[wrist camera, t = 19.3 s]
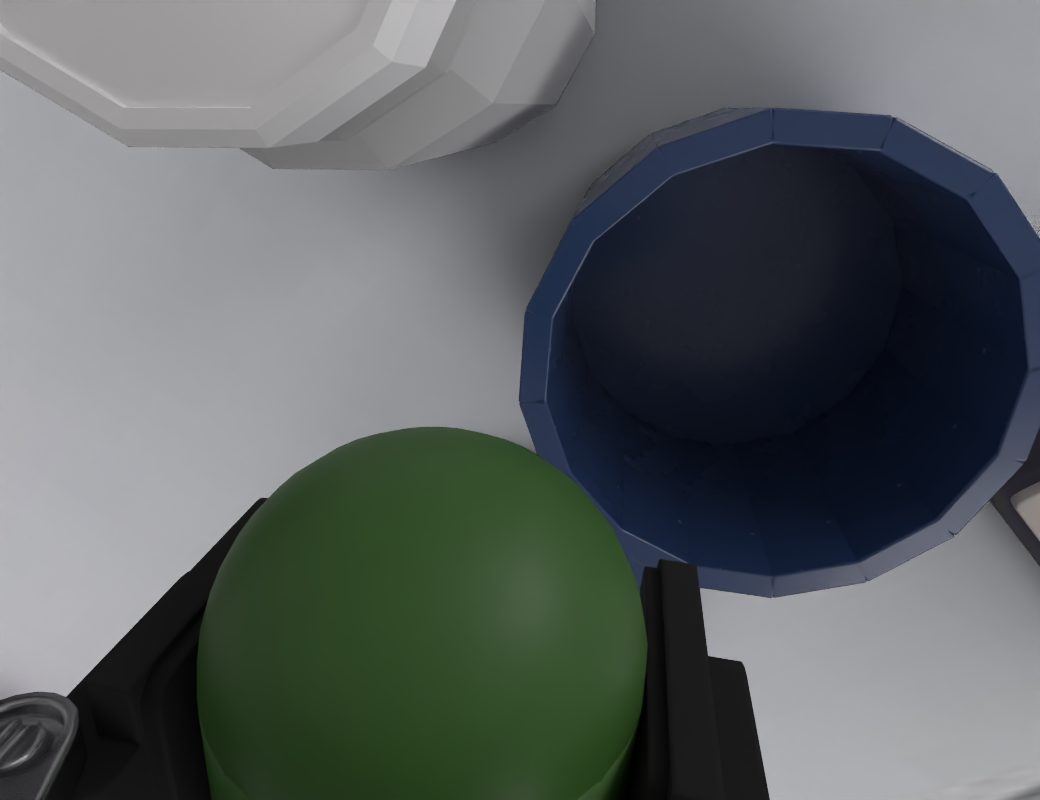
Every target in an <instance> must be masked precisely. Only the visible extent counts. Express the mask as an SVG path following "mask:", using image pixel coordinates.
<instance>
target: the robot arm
mask: <svg viewBox="0 0 1040 800" xmlns="http://www.w3.org/2000/svg"><path fill="white" fill-rule="evenodd" d="M267 499H268V498H260V499H259V500H258V501H256V502H255V503H254V504H253V505H252V507H251V508H250V509H249V510H248V511H247V512H246V513H245V514H244V515H243V516H242V517H241V518H240V519H239V520H238V521H237V522H236V523H235V524H234V525H233V526H232V528H231V529H230V530H229V531H228V532H227V533H226V534H225V535H224V536H223V537H222V538H221V539H220V540H219V541H218V542H217V543H216V544H215V545H214V546H213V547H212V549H211V550H210V551H209V552H208V553H207V554H206V555H205V556H204V557H203V558H202V559H201V560H200V561H199V562H198V563H197V564H196V565H195V566H194V567H193V568H192V570H191V571H189V572H187V573H186V574H185V575H183V576H182V577H181V578H180V579H179V580H178V581H177V582H176V583H175V584H174V585H173V586H172V587H171V588H170V589H169V590H168V591H167V592H166V593H165V594H164V595H163V597H162V598H161V599H160V600H159V601H158V602H157V603H156V604H155V605H154V606H153V607H152V608H151V609H150V610H149V611H148V612H147V613H146V614H145V615H144V616H143V617H142V618H141V619H140V620H139V622H138V623H137V624H136V625H135V626H134V627H133V628H132V629H131V630H130V631H129V632H128V633H127V634H126V635H125V636H124V637H123V638H122V639H121V640H120V641H119V642H118V643H117V644H116V646H115V647H114V648H113V649H112V650H111V651H110V652H109V653H108V654H107V655H106V656H105V657H104V658H103V659H102V660H101V661H100V662H99V663H98V664H97V665H96V666H95V667H94V668H93V670H92V671H91V672H90V673H89V674H88V675H87V676H86V677H85V678H84V679H83V680H82V681H81V682H80V683H79V684H78V685H77V686H76V687H75V688H74V689H73V690H72V691H71V692H70V693H69V695H68V696H67V697H64V696H61V695H59V694H56V693H48V692H33V693H26V694H20V695H15V696H12V697H9V698H6V699H3V700H0V800H211V795H210V788H209V781H208V775H207V768H206V762H205V755H204V748H203V742H202V735H201V728H200V722H199V715H198V704H197V655H198V644H199V633H200V627H201V624H202V620H203V616H204V613H205V609H206V605H207V601H208V598H209V594H210V591H211V589H212V586H213V584H214V581H215V579H216V576H217V574H218V571H219V569H220V566H221V564H222V563H223V561H224V559H225V557H226V556H227V554H228V552H229V550H230V548H231V547H232V545H233V543H234V541H235V540H236V538H237V536H238V534H239V533H240V532H241V530H242V529H243V527H244V526H245V525H246V523H247V522H248V521H249V519H250V518H251V517H252V515H253V514H254V513H255V512H256V511H257V510H258V509H259V507H260V506H261V505H262V504H263V503H264V502H265V501H266V500H267ZM639 594H640V599H641V604H642V609H643V615H644V621H645V628H646V634H647V641H648V649H647V665H646V680H645V693H644V702H643V707H642V712H641V717H640V722H639V727H638V732H637V738H636V743H635V748H634V753H633V758H632V763H631V768H630V773H629V778H628V783H627V788H626V793H625V798H624V800H770V799H769V794H768V788H767V783H766V777H765V772H764V767H763V761H762V756H761V750H760V745H759V740H758V734H757V729H756V724H755V718H754V713H753V707H752V702H751V697H750V691H749V686H748V680H747V675H746V671H745V668H744V665H743V664H742V662H740V661H734V660H728V659H722V658H716V657H710V656H708V653H707V645H706V637H705V629H704V620H703V612H702V604H701V596H700V588H699V580H698V571H697V566H696V565H695V564H690V563H684V562H678V561H671V560H665V559H660V560H659V562H658V565H657V568H654V567H648V566H645V567H644V570H643V575H642V581H641V587H640V592H639Z"/></svg>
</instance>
